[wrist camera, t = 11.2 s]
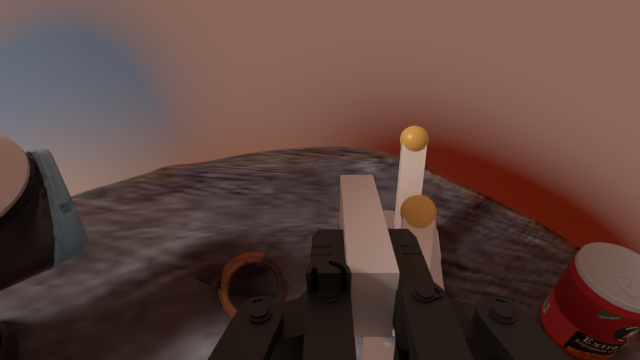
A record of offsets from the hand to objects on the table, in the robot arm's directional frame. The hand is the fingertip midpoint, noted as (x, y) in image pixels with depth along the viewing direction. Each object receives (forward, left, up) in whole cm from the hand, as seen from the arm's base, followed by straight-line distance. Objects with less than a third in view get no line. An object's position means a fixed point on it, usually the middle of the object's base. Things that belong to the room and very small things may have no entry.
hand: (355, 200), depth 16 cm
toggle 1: (+6, +21, -24) cm, 32 cm away
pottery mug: (-15, +11, -29) cm, 34 cm away
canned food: (+26, +13, -29) cm, 41 cm away
